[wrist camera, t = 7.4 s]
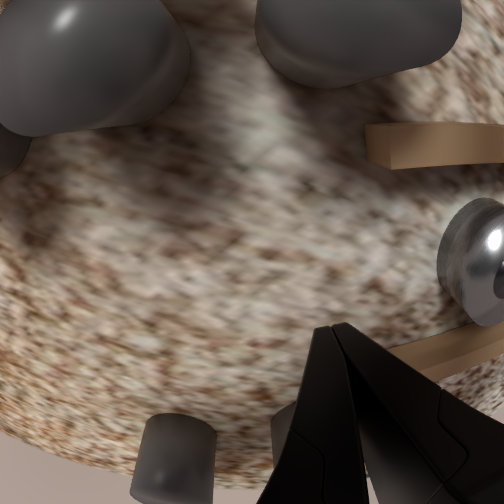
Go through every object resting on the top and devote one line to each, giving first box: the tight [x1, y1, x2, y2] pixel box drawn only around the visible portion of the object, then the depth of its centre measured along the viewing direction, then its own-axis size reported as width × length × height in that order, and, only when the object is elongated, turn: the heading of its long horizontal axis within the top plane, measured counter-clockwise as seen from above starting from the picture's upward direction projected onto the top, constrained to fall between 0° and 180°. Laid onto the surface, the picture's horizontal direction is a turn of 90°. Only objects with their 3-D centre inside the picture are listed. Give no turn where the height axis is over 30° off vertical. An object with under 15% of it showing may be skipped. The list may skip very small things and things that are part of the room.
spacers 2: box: [130, 403, 296, 504], centre depth 12 cm, size 11×4×4 cm, turn 100°
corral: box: [364, 122, 504, 382], centre depth 10 cm, size 10×11×2 cm
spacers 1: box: [0, 0, 462, 177], centre depth 6 cm, size 16×4×4 cm, turn 100°
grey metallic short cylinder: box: [437, 198, 504, 326], centre depth 10 cm, size 5×5×2 cm
